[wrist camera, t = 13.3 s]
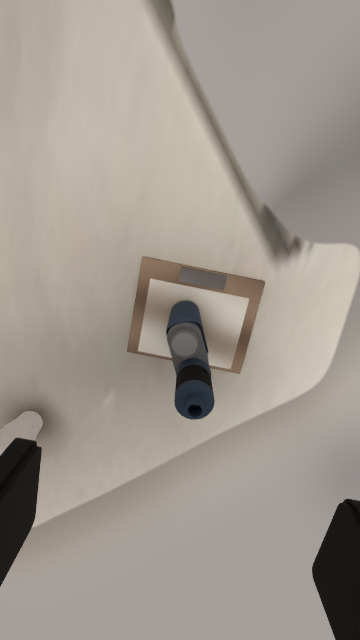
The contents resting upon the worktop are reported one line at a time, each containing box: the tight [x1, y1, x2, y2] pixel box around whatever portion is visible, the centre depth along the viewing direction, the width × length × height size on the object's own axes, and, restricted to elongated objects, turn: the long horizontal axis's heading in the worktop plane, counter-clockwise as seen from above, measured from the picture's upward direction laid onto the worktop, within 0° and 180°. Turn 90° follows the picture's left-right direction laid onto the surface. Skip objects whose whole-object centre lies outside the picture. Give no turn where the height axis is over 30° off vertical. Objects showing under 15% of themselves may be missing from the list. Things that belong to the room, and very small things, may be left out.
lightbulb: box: [0, 411, 43, 455], centre depth 27 cm, size 6×6×11 cm
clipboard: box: [127, 257, 265, 374], centre depth 28 cm, size 9×11×1 cm
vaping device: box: [166, 301, 214, 419], centre depth 23 cm, size 3×5×12 cm, turn 14°
